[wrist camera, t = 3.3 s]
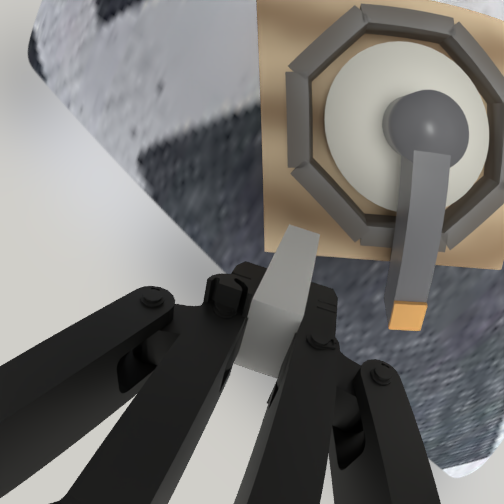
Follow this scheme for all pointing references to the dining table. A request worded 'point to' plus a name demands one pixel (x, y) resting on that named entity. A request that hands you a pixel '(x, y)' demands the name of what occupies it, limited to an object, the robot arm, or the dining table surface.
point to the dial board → (313, 125)
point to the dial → (407, 154)
